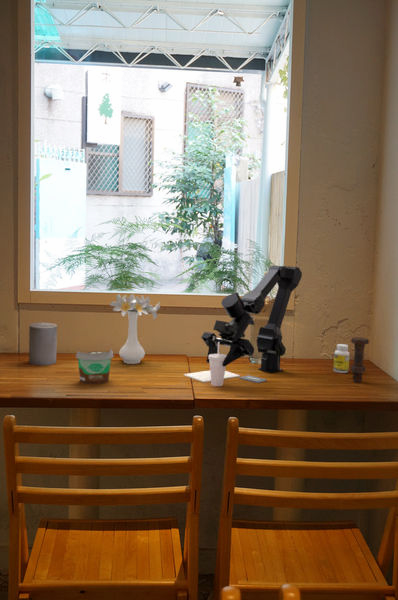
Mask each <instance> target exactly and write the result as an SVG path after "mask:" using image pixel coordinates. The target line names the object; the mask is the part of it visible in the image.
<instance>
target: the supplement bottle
mask: <svg viewBox="0 0 398 600" xmlns="http://www.w3.org/2000/svg"><path fill="white" fill-rule="evenodd" d="M348 350H349V345H348V344H346V343H345V344H344V343H338V344H336V350H335V351H334V352H333V353H334V354H333V366H332V370H333V372H335V373H340V374H346V373H348V372H349V368H350V367H349V366H350V352H349V351H348Z"/></svg>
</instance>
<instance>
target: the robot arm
mask: <svg viewBox="0 0 398 600" xmlns="http://www.w3.org/2000/svg"><path fill="white" fill-rule="evenodd" d="M302 277H303V272H302V270H301V269H300V267H299V266H291V265H289V266H287V265H282V266H281V265H274V264H273V265H271V266H269V268H268V270H267V272H266V273H265V274H264V276H263V277H262V278H261V279H260V281H259V282H258V283H257V285H256V286H255V287H254V288H253V289H252V290H250V291H247V292H246V293H245V294H243V295H242V297H240V294H239V293H238V292H235V291H232V292H231V294H228V295H227V296H225V297H224V298H222V301H221V306H222V307H223V309H224V310H225V313H226V314H227V315H228V317H229V318H231V320H229V321H228V322H227V321H223V320H218V319H216V320H215V323H214V326H213V328H212V329H213V331H217V332H218V336H219V337H218V336H217V335H216V334H215V333H214V332H209V331H204V332H203V334H202V335H201V337H200V338H201V339H202V340H203V342H204V344H205V345H206V346H207V347H208V351H207V357H206V363H207V364H210V362H209V359H208V357H209V355H210V354H218V342H220V346H225V347H229V351H228V353H227V354H226V355H227V356H226V358H225V360H224V362H223V364H222V365H223V366H224V367H225V366H226V367H227V366H228V365H229V364H231V363H232V362H234V361H237V360H238V359H239V358H242V357H245V356H248V357H252V356H253V355H254V353H255V347H254V346H253V344H252V343H251V341H250V339H247V338H245V337H246V334H245V333H246V331H247V329H248V327H249V326H254V325H255V322H254V321H255V320H254V317H253V316H251V314H253V315H259V314H260V313H261V312H262V310H263V308H264V307H265V305H266V304H265V303H266V301H265V300H266V298H267V296H268V295H269V294H270V293H271V291H272V290H273V289H274V288H275V286H276V285H277V287H278V289H277V291H276V295H275V298H274V301H273V304H272V307H271V310H270V313H269V316H268V320H267V323H266V325H264V327H263V326H261V327H259V330H258V333H257V335H256V346H257V353H259V354H260V353H261V359H260V367H258V370H260V371H263V372H266V373H270V374H271V373H277V372H283V371H284V370H283V368H281V357H282V356H284V355H285V354H286V346H285V344H284V343H283V341H282V340H283V334H282V333H283V332H282V331H281V328H282V324H283V321H284V317H285V314H286V311H287V308H288V304H289V301H290V297H291V294H292V292H293V291H294V290H295V289H296V288H297V287H298V286H299V285H300V282H301V280H302ZM219 353H221V350H220V349H219Z"/></svg>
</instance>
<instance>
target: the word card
mask: <svg viewBox="0 0 398 600" xmlns="http://www.w3.org/2000/svg"><path fill="white" fill-rule="evenodd" d="M238 378H239V380H243V381H248V382H251V383H256V384H261V383H264V382H267V381H268V379H265V378H262V377H258V376H253V375H250V374H249V375H244V376H240V377H238Z"/></svg>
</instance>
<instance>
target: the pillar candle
mask: <svg viewBox="0 0 398 600" xmlns="http://www.w3.org/2000/svg"><path fill="white" fill-rule="evenodd" d="M28 326H29V327H28V328H29V329H28V331H29V332H28V334H29V335H28V336H29V338H28V339H29V341H28V347H29V348H28V364H31V365H34V366H50V365H54V364H56V363H57V341H58V340H57V336H58V335H57V334H58V333H57V332H58V331H57V330H58V329H57V328H58V325H57V324H56V323H52V322H50V323H49V322H34V323H30V324H29V325H28Z"/></svg>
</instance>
